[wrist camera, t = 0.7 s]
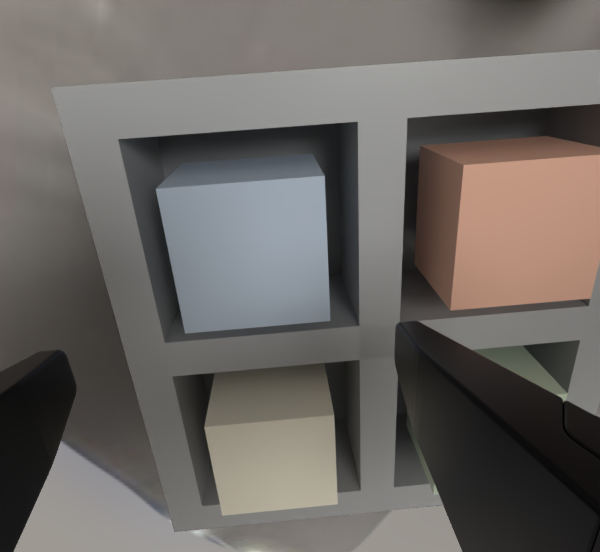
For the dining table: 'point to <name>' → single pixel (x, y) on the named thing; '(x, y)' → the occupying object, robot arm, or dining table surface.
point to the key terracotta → (508, 221)
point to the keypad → (340, 241)
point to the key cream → (272, 439)
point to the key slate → (247, 242)
